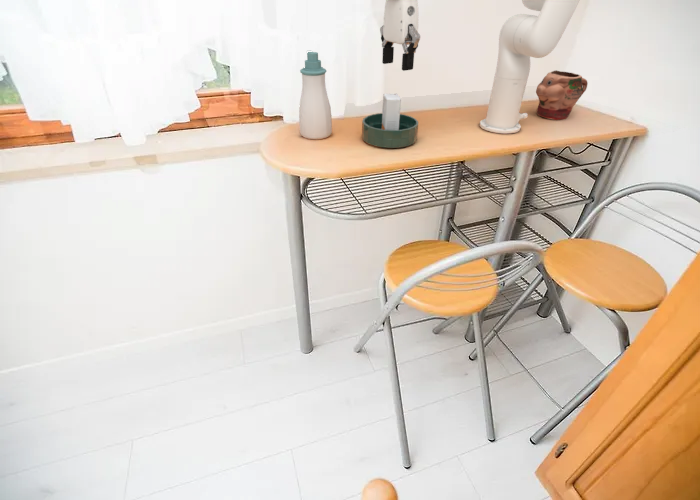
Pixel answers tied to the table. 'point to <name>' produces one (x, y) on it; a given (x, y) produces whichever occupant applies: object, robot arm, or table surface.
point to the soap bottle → (314, 101)
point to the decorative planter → (559, 94)
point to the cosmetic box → (391, 112)
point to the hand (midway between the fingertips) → (397, 66)
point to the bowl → (389, 132)
